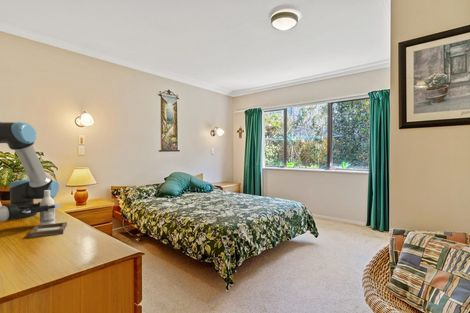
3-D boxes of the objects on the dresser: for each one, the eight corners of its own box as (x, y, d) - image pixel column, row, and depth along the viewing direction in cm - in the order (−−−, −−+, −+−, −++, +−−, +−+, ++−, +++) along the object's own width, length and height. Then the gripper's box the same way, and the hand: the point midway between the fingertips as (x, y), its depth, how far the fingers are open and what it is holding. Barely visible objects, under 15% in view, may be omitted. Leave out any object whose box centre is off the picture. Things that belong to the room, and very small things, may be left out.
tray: (35, 229, 134) (35, 225, 134) (67, 226, 140) (66, 222, 140) (28, 238, 121) (28, 233, 121) (63, 233, 128) (63, 229, 128)
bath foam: (43, 224, 144) (42, 189, 143) (57, 222, 146) (56, 189, 145) (37, 227, 137) (37, 191, 137) (52, 226, 140) (52, 191, 139)
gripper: (-1, 217, 131) (49, 208, 151) (14, 223, 121) (66, 213, 141) (-2, 203, 131) (48, 196, 151) (13, 208, 121) (65, 199, 140)
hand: (57, 204), depth 146 cm, fingers closed on bath foam, 7 cm apart
